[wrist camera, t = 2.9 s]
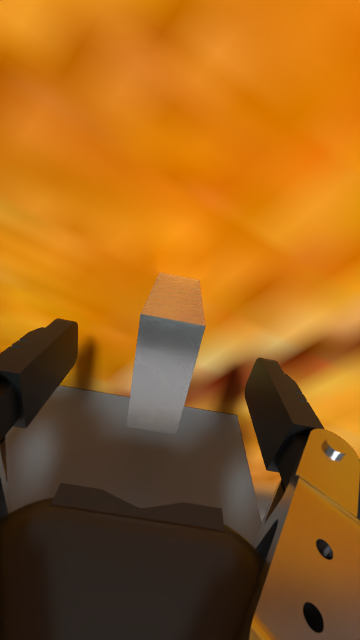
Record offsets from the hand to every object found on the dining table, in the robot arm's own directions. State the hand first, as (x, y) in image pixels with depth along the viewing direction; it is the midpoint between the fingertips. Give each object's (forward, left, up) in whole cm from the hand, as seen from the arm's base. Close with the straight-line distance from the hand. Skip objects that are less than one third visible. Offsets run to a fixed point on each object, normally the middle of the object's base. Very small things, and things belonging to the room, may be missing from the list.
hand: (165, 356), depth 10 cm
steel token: (0, 0, -3) cm, 3 cm away
